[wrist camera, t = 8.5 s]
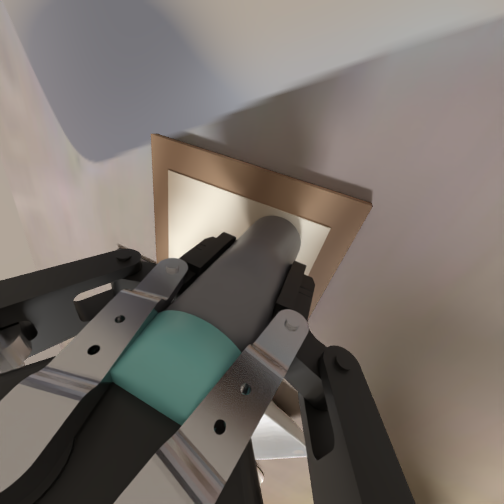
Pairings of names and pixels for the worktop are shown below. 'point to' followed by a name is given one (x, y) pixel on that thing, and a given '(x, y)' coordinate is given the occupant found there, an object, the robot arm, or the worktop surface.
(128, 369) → the marker
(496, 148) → the worktop surface
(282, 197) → the clipboard
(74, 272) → the robot arm
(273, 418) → the salad plate
